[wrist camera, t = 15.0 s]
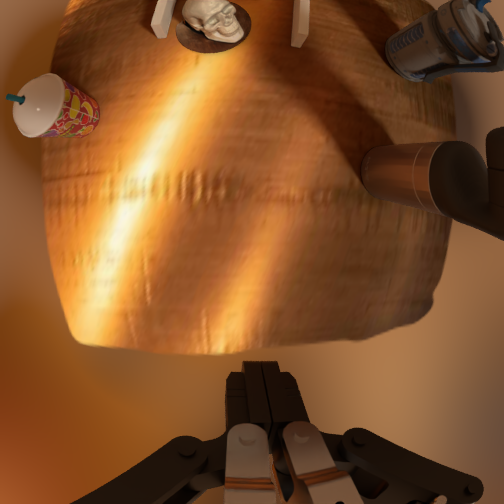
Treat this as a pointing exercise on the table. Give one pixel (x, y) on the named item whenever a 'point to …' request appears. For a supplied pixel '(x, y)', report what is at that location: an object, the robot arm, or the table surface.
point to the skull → (212, 25)
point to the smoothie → (54, 109)
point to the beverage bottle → (447, 43)
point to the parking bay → (298, 27)
